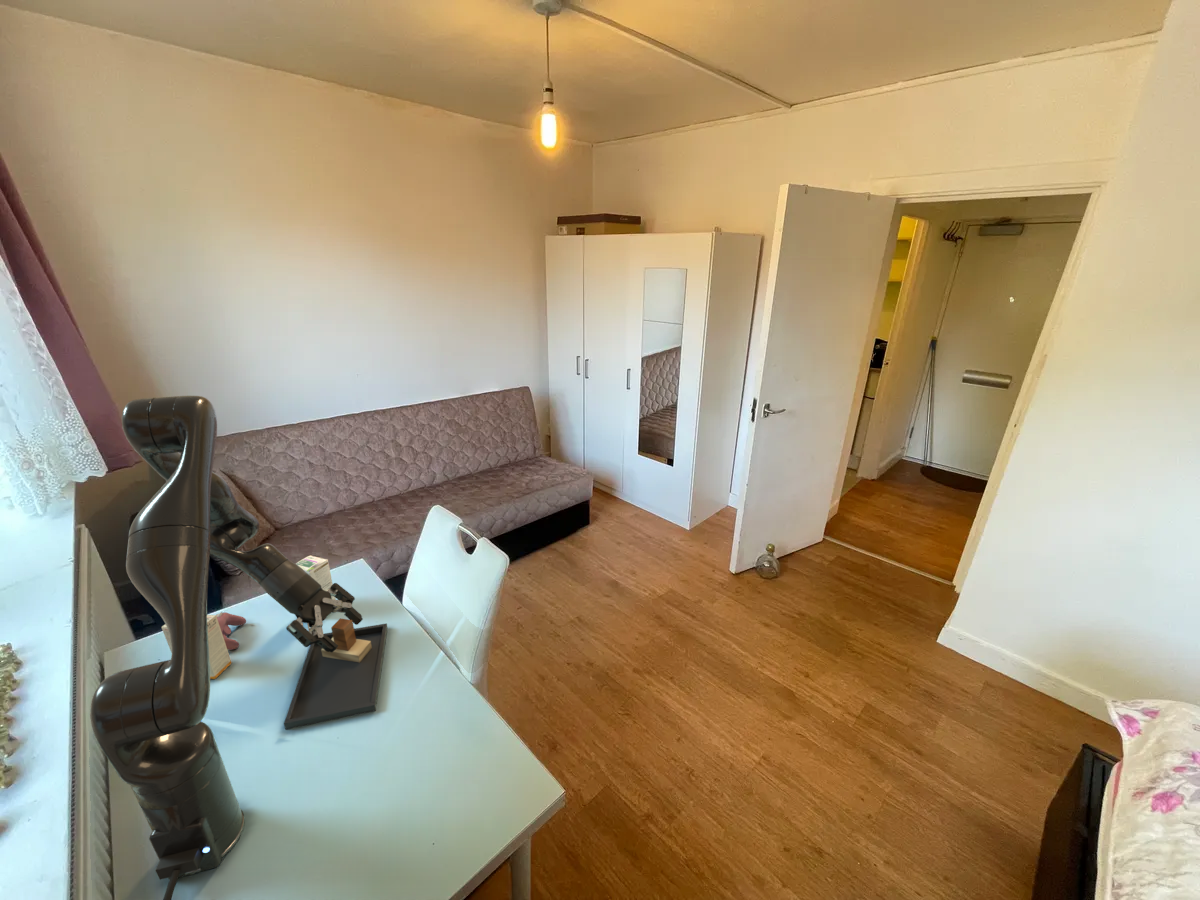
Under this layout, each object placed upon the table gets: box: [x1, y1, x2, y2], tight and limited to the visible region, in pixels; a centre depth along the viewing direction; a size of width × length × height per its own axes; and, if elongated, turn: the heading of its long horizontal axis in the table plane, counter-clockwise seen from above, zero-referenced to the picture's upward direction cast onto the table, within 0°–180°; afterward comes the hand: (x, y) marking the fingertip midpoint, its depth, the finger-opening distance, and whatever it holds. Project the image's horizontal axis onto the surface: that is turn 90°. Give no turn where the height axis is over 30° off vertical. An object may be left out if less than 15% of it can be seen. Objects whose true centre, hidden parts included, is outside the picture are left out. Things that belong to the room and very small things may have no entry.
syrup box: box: [295, 555, 337, 600], centre depth 119 cm, size 6×6×14 cm
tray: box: [283, 623, 389, 730], centre depth 104 cm, size 24×16×2 cm, turn 17°
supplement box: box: [161, 614, 233, 680], centre depth 102 cm, size 8×5×13 cm, turn 84°
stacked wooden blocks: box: [321, 618, 372, 663], centre depth 108 cm, size 9×4×8 cm, turn 81°
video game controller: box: [215, 612, 247, 651], centre depth 111 cm, size 10×5×7 cm, turn 25°
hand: (348, 635), depth 107 cm, fingers open, 8 cm apart
